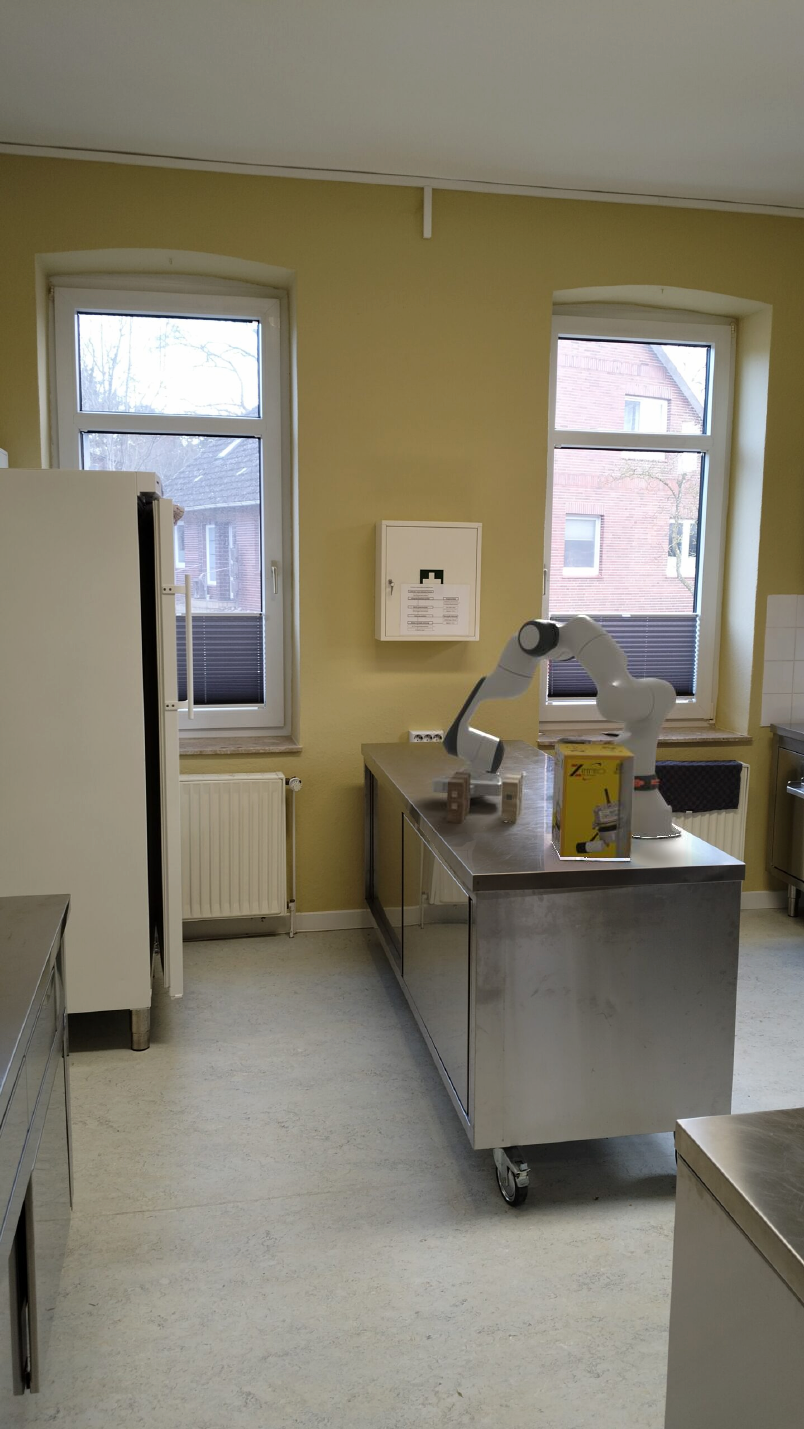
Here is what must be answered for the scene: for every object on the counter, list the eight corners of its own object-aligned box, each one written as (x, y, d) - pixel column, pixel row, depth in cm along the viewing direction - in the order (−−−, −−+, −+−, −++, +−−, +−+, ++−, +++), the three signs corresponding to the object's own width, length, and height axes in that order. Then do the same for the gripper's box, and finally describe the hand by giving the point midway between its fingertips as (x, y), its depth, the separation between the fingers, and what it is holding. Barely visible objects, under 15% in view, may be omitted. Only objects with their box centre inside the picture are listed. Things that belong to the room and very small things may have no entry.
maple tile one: (507, 810, 284) (508, 772, 283) (521, 811, 283) (522, 773, 282) (501, 822, 270) (502, 782, 269) (515, 823, 269) (517, 783, 268)
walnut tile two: (455, 810, 283) (456, 771, 281) (469, 811, 282) (470, 772, 281) (446, 822, 269) (447, 781, 268) (461, 823, 268) (462, 782, 267)
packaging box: (630, 862, 234) (635, 756, 231) (560, 861, 234) (564, 754, 231) (617, 843, 250) (621, 744, 247) (551, 842, 250) (554, 743, 247)
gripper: (436, 769, 297) (427, 778, 284) (505, 773, 293) (499, 782, 279) (435, 790, 298) (426, 800, 284) (504, 794, 293) (498, 805, 280)
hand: (463, 791), depth 282 cm, fingers closed, pressing on walnut tile two
